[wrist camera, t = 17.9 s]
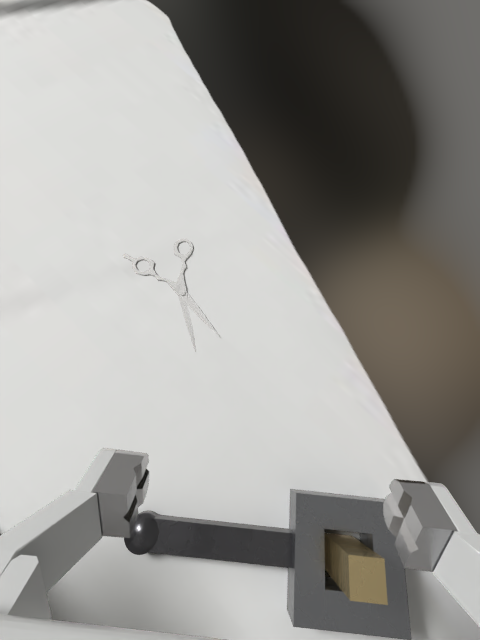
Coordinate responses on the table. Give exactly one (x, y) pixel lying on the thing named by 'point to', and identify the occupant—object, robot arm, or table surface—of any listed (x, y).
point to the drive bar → (355, 569)
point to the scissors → (176, 286)
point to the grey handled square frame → (296, 557)
